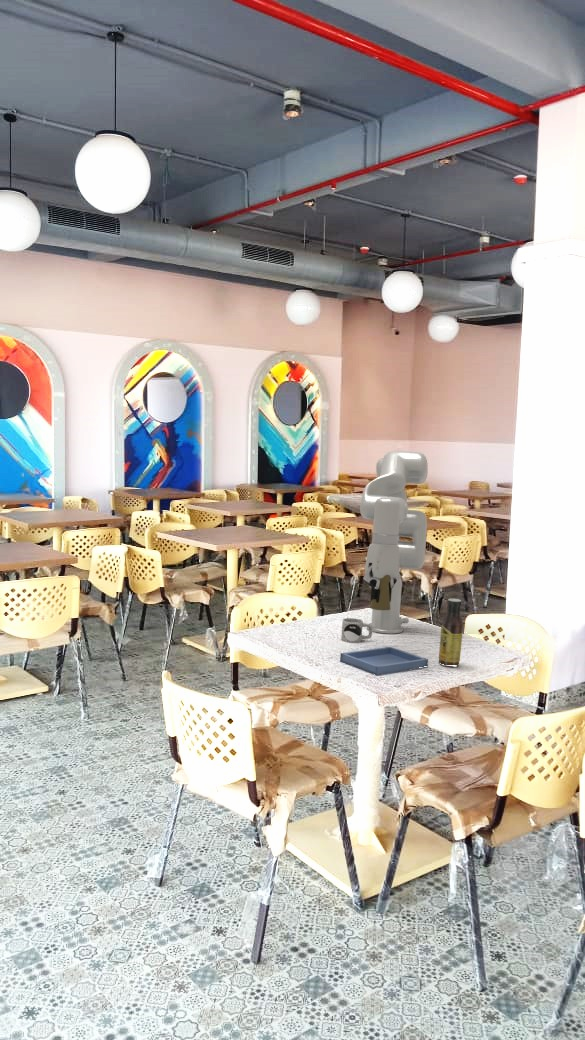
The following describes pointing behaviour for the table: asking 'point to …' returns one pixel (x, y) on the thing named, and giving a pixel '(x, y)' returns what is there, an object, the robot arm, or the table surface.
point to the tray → (383, 660)
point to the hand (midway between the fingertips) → (380, 600)
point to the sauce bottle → (451, 634)
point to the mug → (354, 630)
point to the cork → (382, 595)
